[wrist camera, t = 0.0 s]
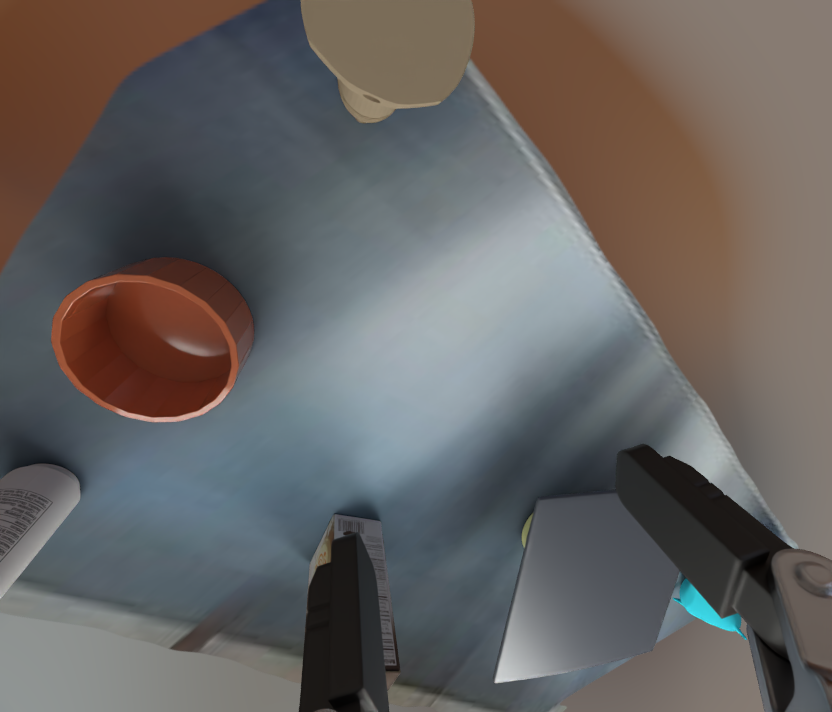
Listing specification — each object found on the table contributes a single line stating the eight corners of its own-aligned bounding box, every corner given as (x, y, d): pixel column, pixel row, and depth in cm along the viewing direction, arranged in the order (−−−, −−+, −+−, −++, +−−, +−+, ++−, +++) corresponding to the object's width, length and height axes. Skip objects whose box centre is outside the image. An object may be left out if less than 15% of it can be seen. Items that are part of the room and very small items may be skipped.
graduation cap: (600, 586, 60) (652, 655, 50) (465, 607, 55) (492, 688, 45) (645, 434, 51) (718, 483, 41) (488, 443, 46) (529, 501, 36)
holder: (70, 277, 28) (8, 300, 23) (218, 241, 29) (191, 255, 24) (150, 398, 33) (115, 439, 28) (274, 364, 34) (262, 398, 29)
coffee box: (356, 568, 49) (364, 730, 34) (308, 563, 46) (295, 732, 32) (382, 519, 46) (402, 674, 31) (332, 511, 43) (329, 673, 29)
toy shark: (679, 605, 70) (732, 672, 60) (646, 568, 62) (702, 638, 52) (724, 577, 69) (786, 641, 59) (696, 535, 61) (763, 602, 51)
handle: (329, 38, 25) (318, -121, 12) (417, 80, 27) (493, -16, 14) (313, 117, 27) (288, 57, 13) (397, 150, 29) (447, 127, 15)
